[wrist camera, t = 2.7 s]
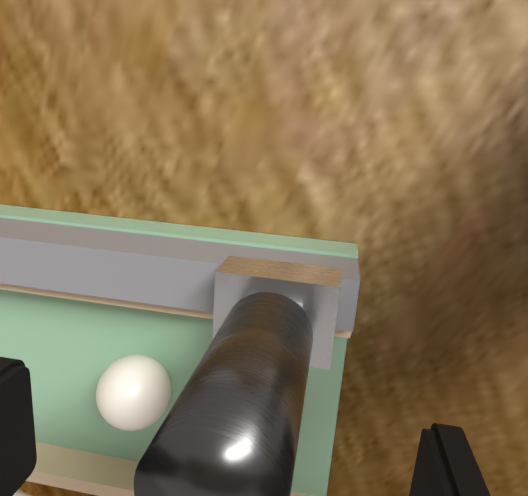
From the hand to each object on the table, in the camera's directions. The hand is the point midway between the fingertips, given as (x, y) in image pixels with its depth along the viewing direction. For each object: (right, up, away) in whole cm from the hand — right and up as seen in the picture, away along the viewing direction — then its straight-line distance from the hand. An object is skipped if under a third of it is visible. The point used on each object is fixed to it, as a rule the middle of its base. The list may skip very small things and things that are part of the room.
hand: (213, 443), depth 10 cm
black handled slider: (+2, 0, +11) cm, 11 cm away
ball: (-5, -3, +12) cm, 13 cm away
